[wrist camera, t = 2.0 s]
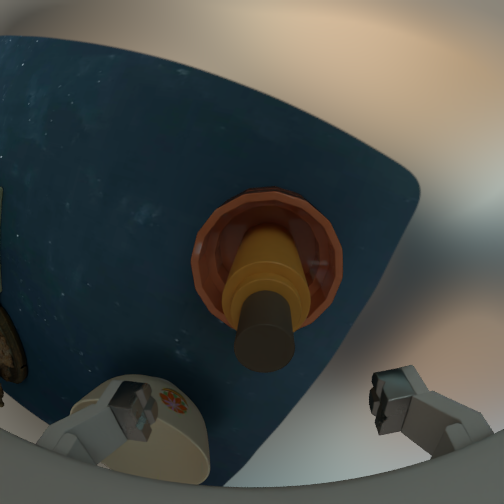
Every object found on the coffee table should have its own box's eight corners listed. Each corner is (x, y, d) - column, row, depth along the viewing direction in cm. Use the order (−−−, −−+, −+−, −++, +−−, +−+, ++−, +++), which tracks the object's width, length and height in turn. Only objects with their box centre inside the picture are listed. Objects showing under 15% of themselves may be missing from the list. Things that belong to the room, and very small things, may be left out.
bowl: (84, 365, 34) (47, 412, 24) (168, 323, 31) (133, 382, 21) (157, 441, 37) (138, 491, 28) (247, 417, 34) (240, 480, 25)
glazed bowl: (199, 193, 27) (181, 201, 21) (324, 181, 26) (339, 186, 20) (216, 306, 30) (204, 338, 24) (329, 297, 29) (342, 328, 23)
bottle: (237, 224, 27) (196, 301, 12) (293, 219, 26) (322, 292, 12) (243, 277, 28) (216, 393, 13) (297, 273, 28) (321, 387, 13)
